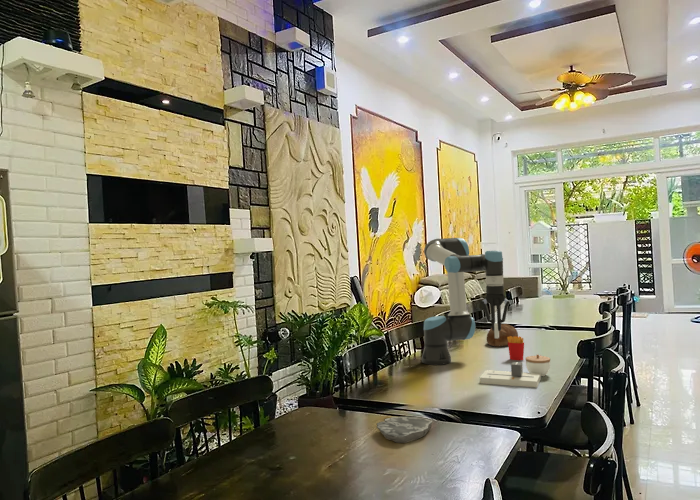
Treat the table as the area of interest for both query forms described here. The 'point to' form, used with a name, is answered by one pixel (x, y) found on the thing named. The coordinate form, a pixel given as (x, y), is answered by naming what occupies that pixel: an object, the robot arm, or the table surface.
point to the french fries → (516, 348)
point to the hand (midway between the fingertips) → (496, 337)
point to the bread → (501, 335)
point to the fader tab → (516, 369)
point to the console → (510, 378)
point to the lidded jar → (538, 364)
